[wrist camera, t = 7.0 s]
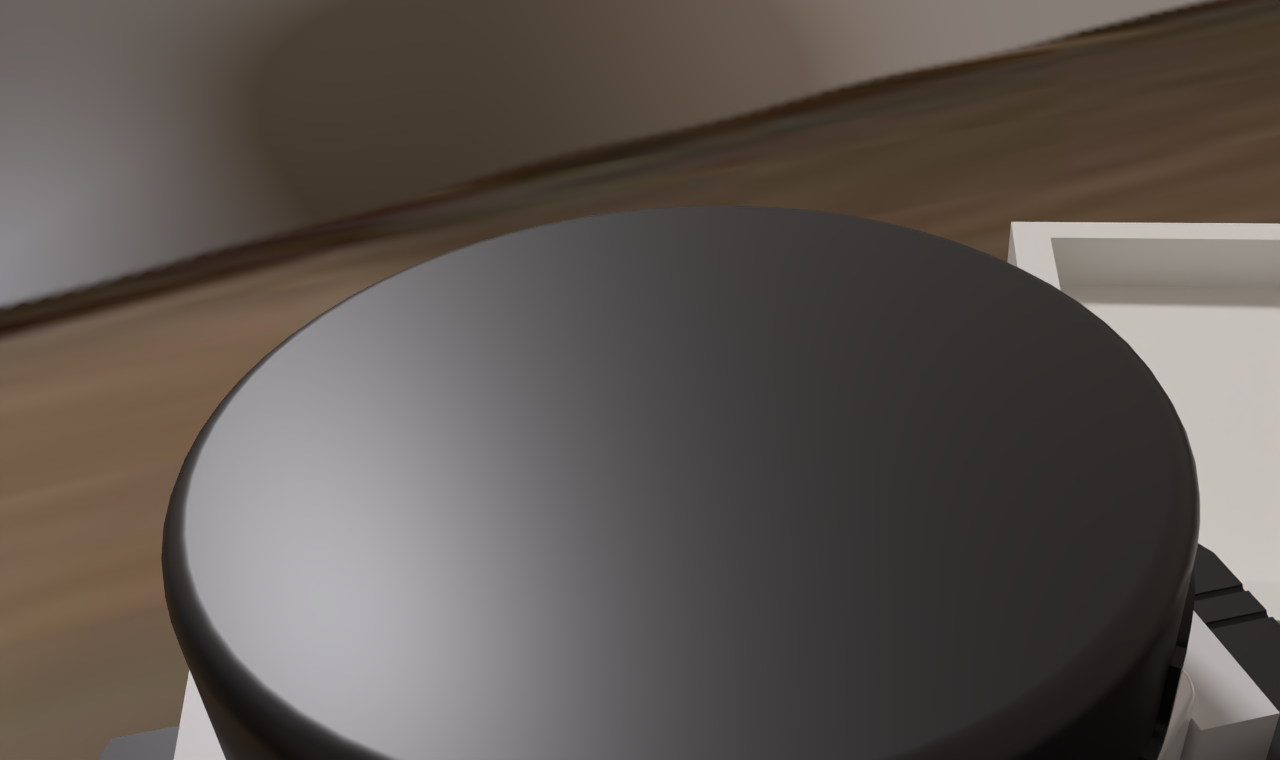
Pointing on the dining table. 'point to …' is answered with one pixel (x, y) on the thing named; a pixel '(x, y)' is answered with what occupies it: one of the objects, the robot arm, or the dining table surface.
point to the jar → (693, 509)
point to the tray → (1194, 356)
